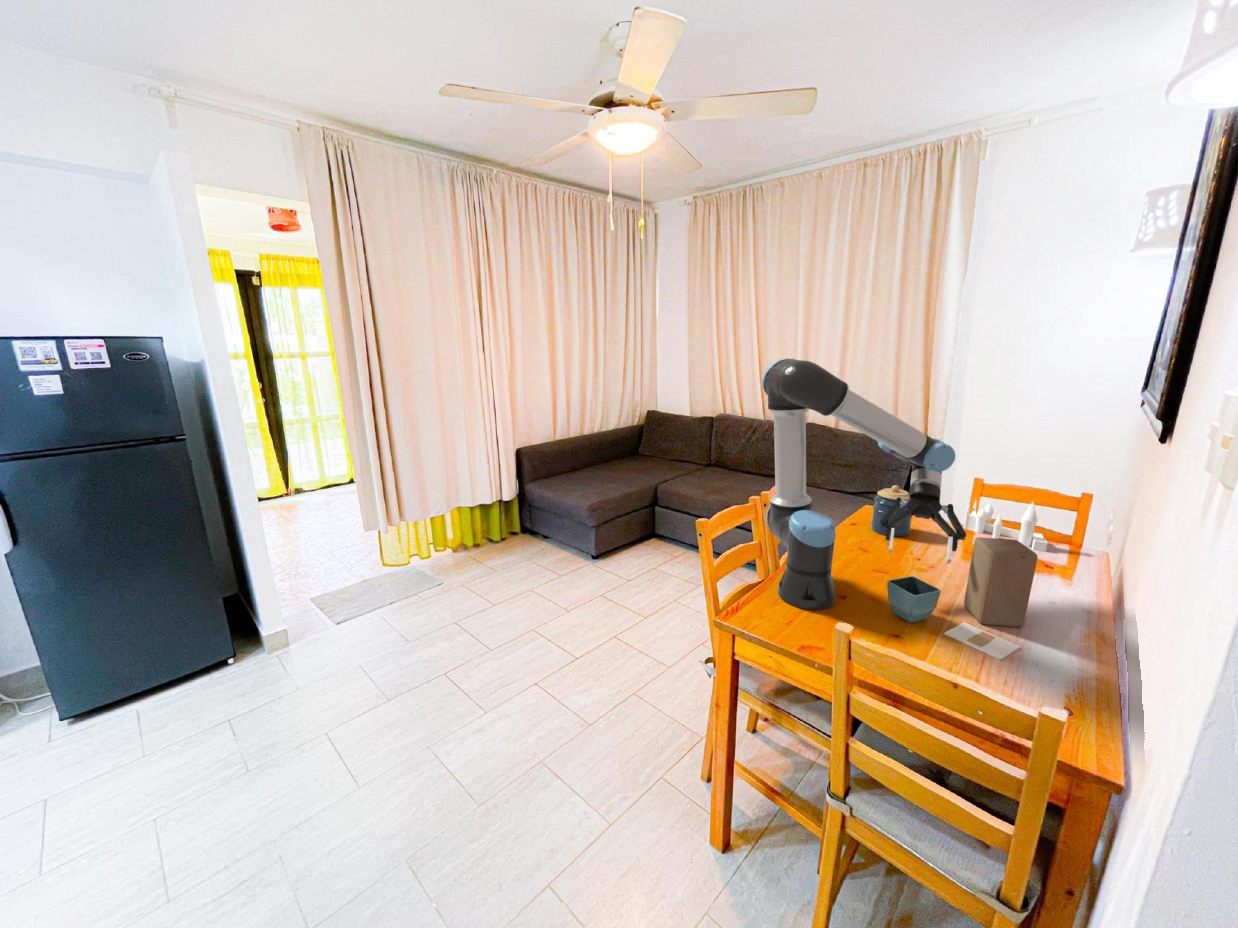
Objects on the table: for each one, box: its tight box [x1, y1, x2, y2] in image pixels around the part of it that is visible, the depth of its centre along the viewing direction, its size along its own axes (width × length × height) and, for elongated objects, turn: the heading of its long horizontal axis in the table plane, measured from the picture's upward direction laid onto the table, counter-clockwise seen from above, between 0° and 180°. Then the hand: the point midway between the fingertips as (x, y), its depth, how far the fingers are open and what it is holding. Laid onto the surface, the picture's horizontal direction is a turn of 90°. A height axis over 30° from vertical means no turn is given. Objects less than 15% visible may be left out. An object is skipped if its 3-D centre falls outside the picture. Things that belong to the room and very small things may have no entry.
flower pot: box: [886, 575, 942, 623], centre depth 130 cm, size 9×9×9 cm
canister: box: [870, 484, 913, 538], centre depth 186 cm, size 13×13×18 cm
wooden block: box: [963, 537, 1039, 628], centre depth 128 cm, size 10×10×20 cm
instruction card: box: [944, 622, 1021, 661], centre depth 120 cm, size 12×9×1 cm
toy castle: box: [963, 499, 1049, 553], centre depth 180 cm, size 14×25×16 cm, turn 40°
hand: (918, 556), depth 135 cm, fingers open, 13 cm apart
